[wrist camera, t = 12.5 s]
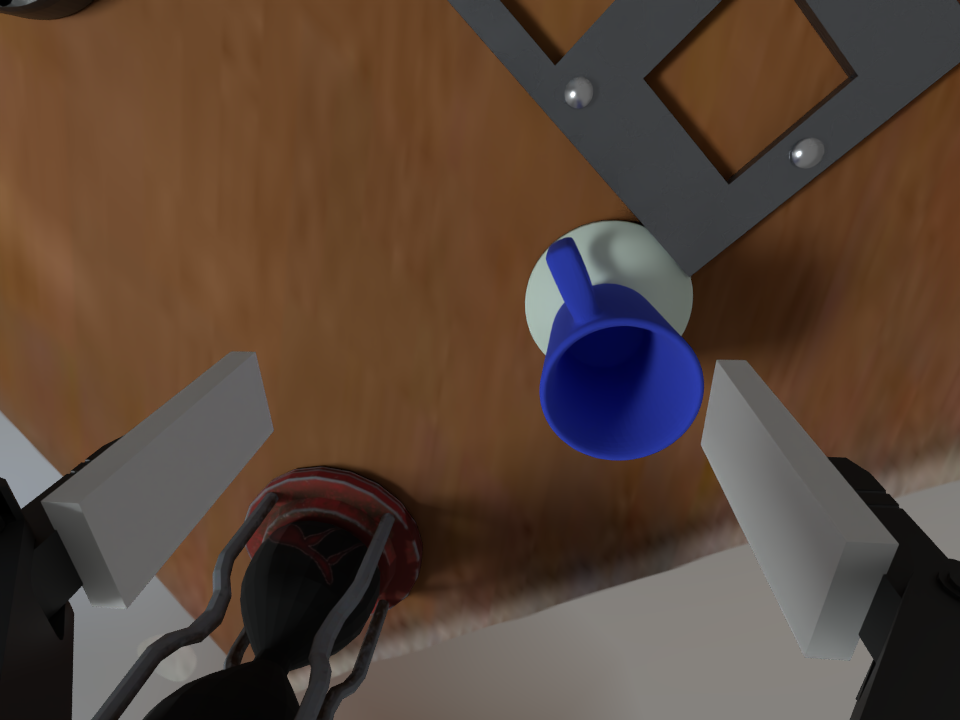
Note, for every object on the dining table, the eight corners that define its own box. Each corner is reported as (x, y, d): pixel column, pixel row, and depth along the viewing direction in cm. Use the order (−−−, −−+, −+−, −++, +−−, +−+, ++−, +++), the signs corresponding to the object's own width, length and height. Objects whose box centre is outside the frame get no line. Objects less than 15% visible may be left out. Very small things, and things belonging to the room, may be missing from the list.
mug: (617, 190, 32) (644, 214, 23) (681, 355, 36) (726, 432, 27) (497, 247, 34) (479, 290, 25) (569, 397, 38) (576, 480, 29)
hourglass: (336, 625, 52) (174, 1003, 30) (217, 516, 48) (-75, 859, 26) (459, 561, 47) (376, 964, 24) (337, 433, 43) (101, 773, 20)
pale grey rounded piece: (493, 297, 37) (491, 301, 36) (617, 182, 33) (619, 183, 32) (595, 401, 39) (596, 406, 38) (724, 305, 35) (727, 309, 34)
